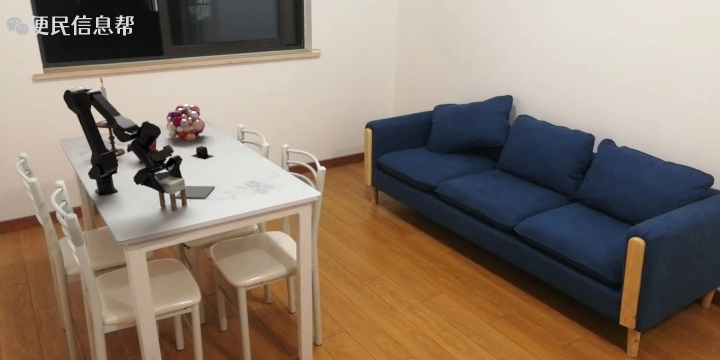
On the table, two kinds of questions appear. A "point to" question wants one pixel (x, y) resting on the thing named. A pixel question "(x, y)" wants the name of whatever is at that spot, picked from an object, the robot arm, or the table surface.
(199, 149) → the black brimmed piece
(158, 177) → the phone
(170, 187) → the stool
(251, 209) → the table surface
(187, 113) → the ornament
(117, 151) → the candlestick
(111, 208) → the table surface
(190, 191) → the mat
